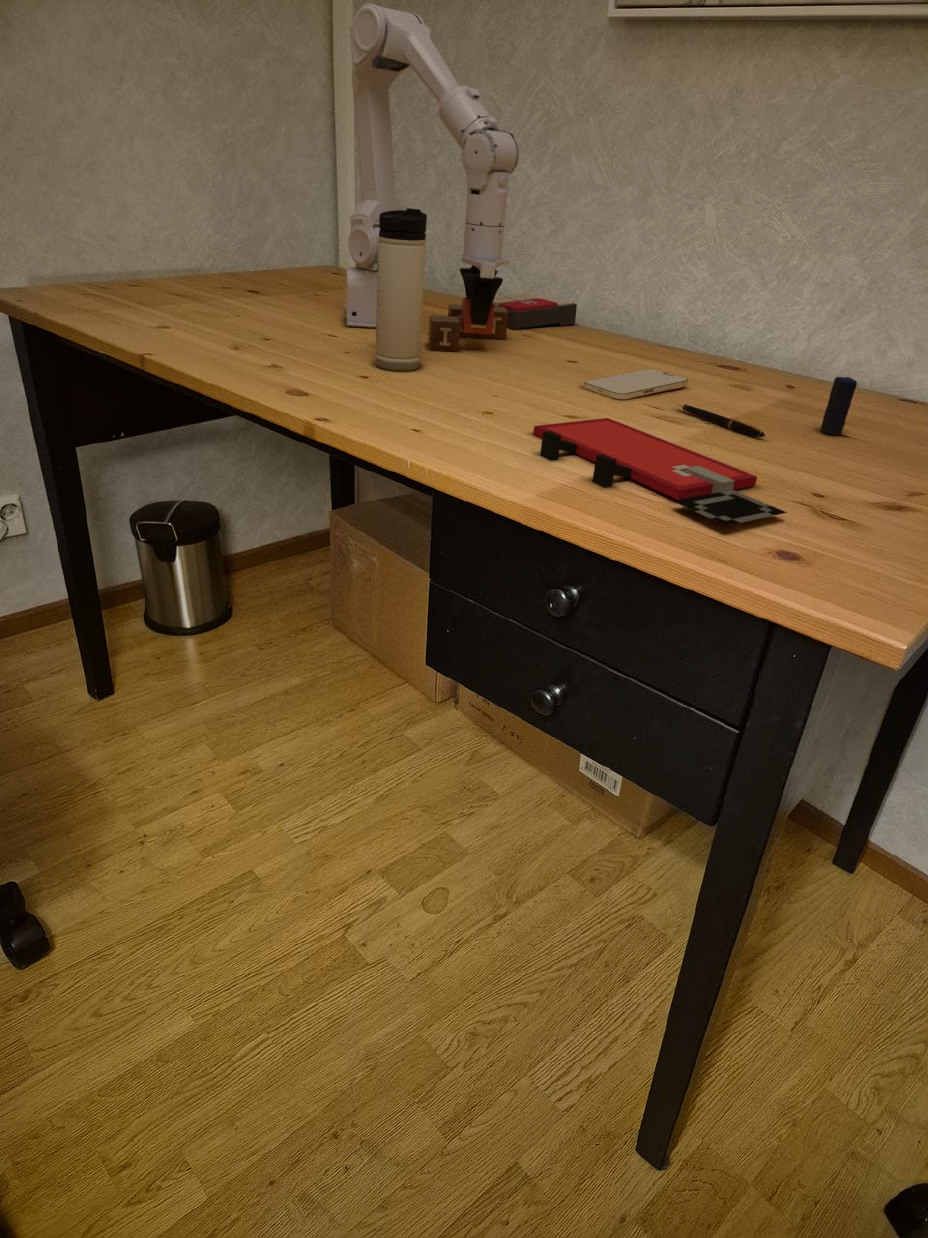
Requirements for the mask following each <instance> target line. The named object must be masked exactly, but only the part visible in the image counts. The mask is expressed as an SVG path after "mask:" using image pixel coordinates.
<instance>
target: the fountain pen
mask: <svg viewBox="0 0 928 1238" xmlns="http://www.w3.org/2000/svg"><path fill="white" fill-rule="evenodd" d="M676 405H677V406H678V407H680V408H681V409H682V411H685V412H687V413H689V414H692V415H694V416H697V417H700V418H702V419H704V420H707V421H709V422H712V423H716V424H717V425H720V426H722V427H726V428H727V429H729V430H732V431H735V432H737V433H741V434H745V435H748V436H750V437H756V438H763V437H766V434H765V433H764V431H762V429H761V428H760V427H758V426H756V425H755V424H751V423H749V422H746V421H743V420H741V419H739V418H735V417H734V418H732V417H731V418H729V417H726V416H724V415H721V414H718V413H716V412H715V413H714V412H711V411H708V410H706V409H702V408H698V407H696V406H691V405H688V404H686V403H685V404H679V403H676Z"/></svg>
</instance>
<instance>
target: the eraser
mask: <svg viewBox="0 0 928 1238" xmlns="http://www.w3.org/2000/svg"><path fill="white" fill-rule="evenodd" d="M857 385H858V381H857V380H855V379H854V378H852V377H849V376H835V378H834V381H833V384H832V387H831V390H830V393H829V398H828V402H827V405H826V408H825V410H824V414H823V417H822V421H821V427H820V431H821V433H823V434H825V435H827V436H835V437H839V436H841V434H842V432H843V430H844V427H845V423H846V420H847V416H848V414H849V410H850V407H851V405H852V400H853V397H854V394H855V391H856V388H857Z"/></svg>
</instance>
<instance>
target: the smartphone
mask: <svg viewBox="0 0 928 1238" xmlns="http://www.w3.org/2000/svg"><path fill="white" fill-rule="evenodd" d="M688 382H689V379H688V378H686V377H683V376H680V375H676V374H673V373H668V372H666V371H661V370H658V369H656V368H655V369H654V368H645V369H640V370H635V371H631V372H630V371H629V372H625V373H621V374H614V375H610V376H605V377H599V378H594V379H590V380H585V381H584V385H583V388H584V389H585V390H588V391H591V392H595V393H597V394H600V395H603V396H606V397H609V398H613V399H615V400H616V399H617V400H628V399H633V398H637V397H642V396H647V395H650V394H655V393H660V392H665V391H671V390H677V389H681V388H683V387H687V386H688Z"/></svg>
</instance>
